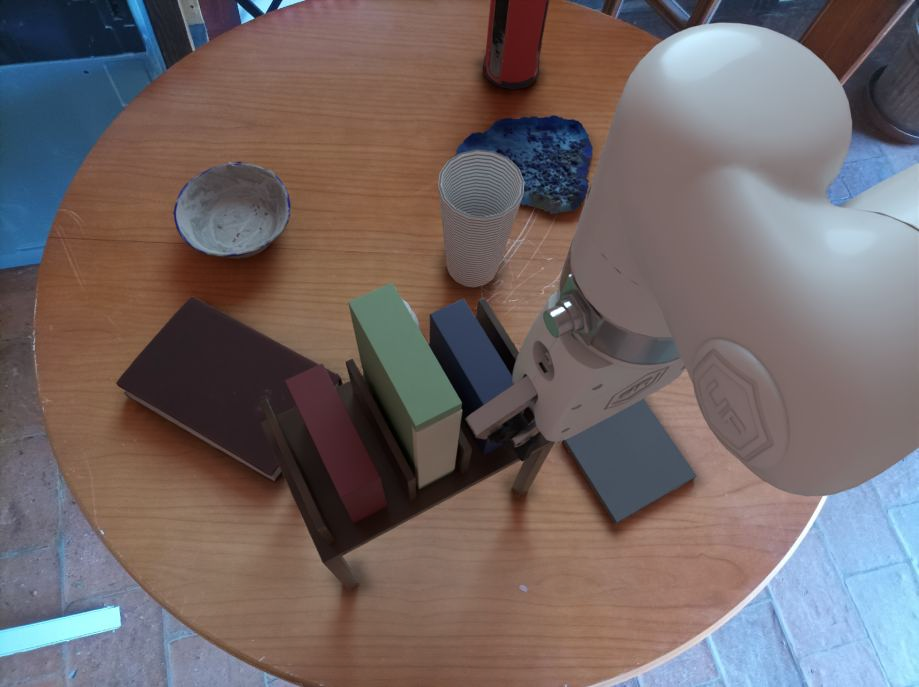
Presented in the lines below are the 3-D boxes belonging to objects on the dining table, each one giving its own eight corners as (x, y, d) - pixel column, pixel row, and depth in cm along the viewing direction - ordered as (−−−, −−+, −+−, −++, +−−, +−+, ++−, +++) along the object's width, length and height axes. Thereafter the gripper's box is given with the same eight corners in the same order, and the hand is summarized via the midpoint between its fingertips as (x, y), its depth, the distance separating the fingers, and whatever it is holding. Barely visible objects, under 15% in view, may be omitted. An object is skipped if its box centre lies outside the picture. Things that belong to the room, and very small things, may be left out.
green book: (454, 472, 53) (463, 404, 40) (419, 491, 53) (416, 428, 39) (400, 375, 57) (392, 281, 43) (366, 391, 56) (347, 301, 42)
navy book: (514, 439, 55) (528, 401, 47) (483, 455, 54) (492, 420, 46) (459, 347, 58) (463, 297, 50) (429, 361, 57) (429, 313, 50)
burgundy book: (387, 506, 52) (380, 477, 44) (353, 524, 51) (340, 498, 44) (337, 405, 55) (322, 362, 48) (304, 421, 55) (284, 380, 47)
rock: (582, 220, 86) (585, 210, 84) (446, 196, 86) (446, 186, 85) (595, 131, 92) (598, 121, 90) (468, 110, 93) (468, 99, 91)
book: (200, 305, 79) (190, 291, 76) (344, 385, 75) (341, 373, 72) (125, 396, 74) (112, 384, 71) (276, 485, 70) (269, 477, 67)
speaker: (530, 97, 94) (551, -23, 78) (475, 82, 95) (485, -40, 78) (544, 58, 97) (568, -65, 81) (491, 44, 98) (504, -81, 82)
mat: (693, 478, 72) (697, 476, 72) (614, 524, 70) (617, 522, 69) (638, 398, 76) (641, 395, 75) (561, 440, 74) (563, 437, 73)
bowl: (171, 210, 84) (157, 185, 80) (271, 172, 87) (263, 145, 83) (208, 294, 79) (195, 272, 75) (313, 251, 82) (307, 227, 78)
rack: (527, 491, 71) (571, 412, 49) (348, 590, 66) (310, 550, 45) (470, 394, 75) (488, 282, 54) (298, 480, 71) (241, 395, 49)
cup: (486, 226, 85) (498, 137, 71) (521, 280, 82) (540, 199, 68) (423, 252, 83) (423, 166, 69) (457, 309, 80) (463, 231, 66)
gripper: (526, 434, 29) (492, 516, 45) (834, 272, 33) (705, 399, 49) (442, 296, 32) (437, 418, 48) (736, 161, 36) (644, 314, 52)
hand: (573, 408), depth 48 cm, fingers open, 9 cm apart
